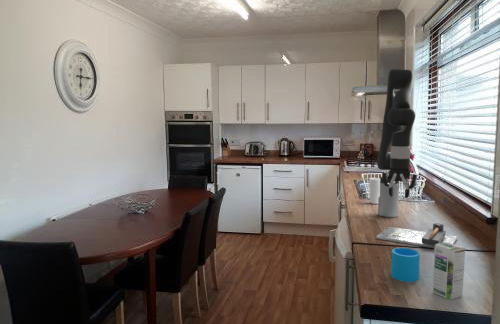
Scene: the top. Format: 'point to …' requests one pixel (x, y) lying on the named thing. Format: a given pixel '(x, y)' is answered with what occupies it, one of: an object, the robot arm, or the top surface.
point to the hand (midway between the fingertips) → (398, 197)
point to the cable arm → (434, 235)
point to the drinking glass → (374, 190)
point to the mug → (405, 264)
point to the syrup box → (448, 270)
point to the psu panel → (409, 236)
